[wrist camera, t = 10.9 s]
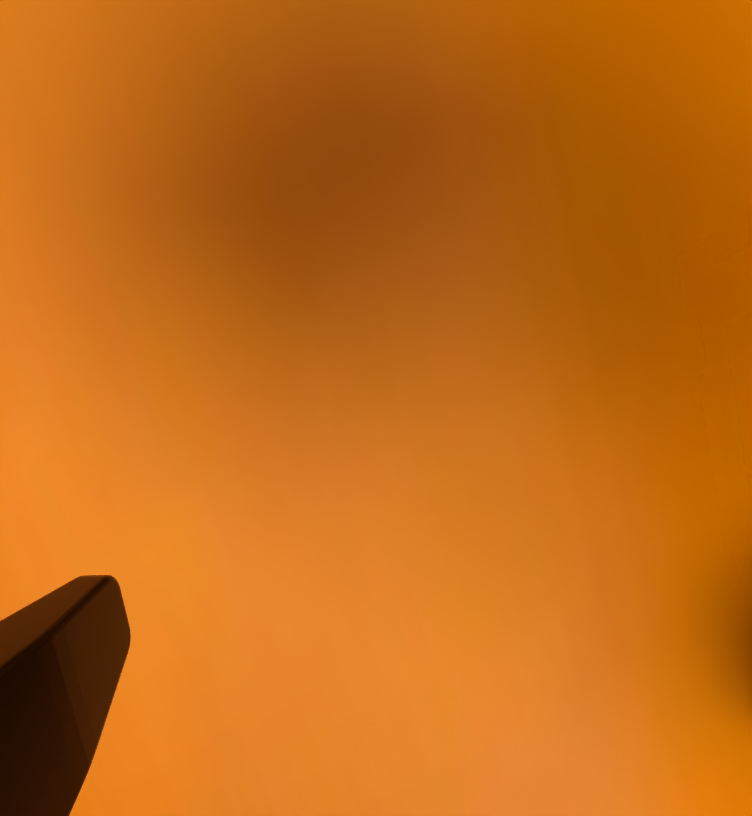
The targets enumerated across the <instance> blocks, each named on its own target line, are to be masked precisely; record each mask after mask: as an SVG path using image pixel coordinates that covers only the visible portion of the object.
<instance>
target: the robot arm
mask: <svg viewBox="0 0 752 816" xmlns="http://www.w3.org/2000/svg"><path fill="white" fill-rule="evenodd" d="M130 637H131V636H130V627H129V623H128V619H127V614H126V610H125V606H124V602H123V598H122V594H121V590H120V586H119V584H118V582H117V580H116V579H115V578H114V577H112V576H111V575H90V576H80V577H77V578H76V579H74V580H72V581H70V582H68V583H67V584H65V585H63V586H61V587H60V588H58V589H56V590H54V591H53V592H51V593H49V594H47V595H45V596H44V597H42V598H40V599H38V600H37V601H35V602H33V603H31V604H30V605H28V606H26V607H24V608H23V609H21V610H19V611H17V612H15V613H14V614H12V615H10V616H8V617H7V618H5V619H3V620H1V621H0V816H69V814H70V812H71V810H72V808H73V805H74V803H75V801H76V799H77V796H78V794H79V792H80V790H81V787H82V785H83V782H84V780H85V778H86V775H87V773H88V770H89V768H90V765H91V763H92V760H93V757H94V754H95V752H96V749H97V746H98V743H99V740H100V737H101V734H102V730H103V727H104V724H105V721H106V718H107V715H108V712H109V709H110V706H111V703H112V700H113V697H114V694H115V691H116V688H117V684H118V681H119V678H120V675H121V672H122V669H123V666H124V663H125V660H126V657H127V654H128V650H129V646H130Z"/></svg>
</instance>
